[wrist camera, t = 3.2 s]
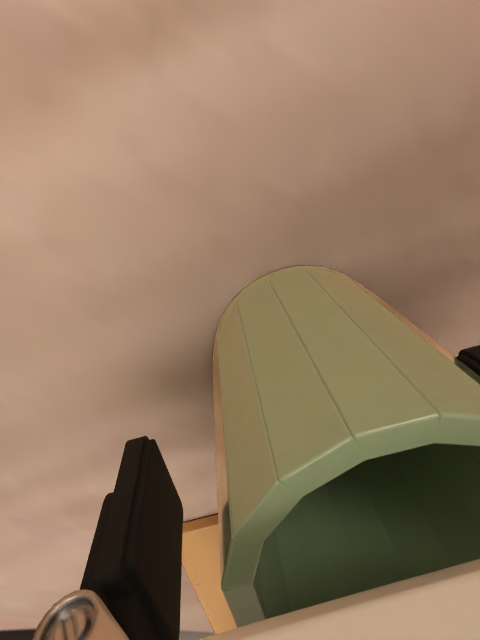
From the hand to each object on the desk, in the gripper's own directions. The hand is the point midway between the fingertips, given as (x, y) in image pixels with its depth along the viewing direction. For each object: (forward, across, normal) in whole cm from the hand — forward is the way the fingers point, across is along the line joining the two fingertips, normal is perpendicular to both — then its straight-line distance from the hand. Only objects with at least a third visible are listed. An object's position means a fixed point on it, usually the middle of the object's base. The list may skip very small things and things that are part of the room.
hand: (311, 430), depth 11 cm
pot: (+4, -1, 0) cm, 5 cm away
